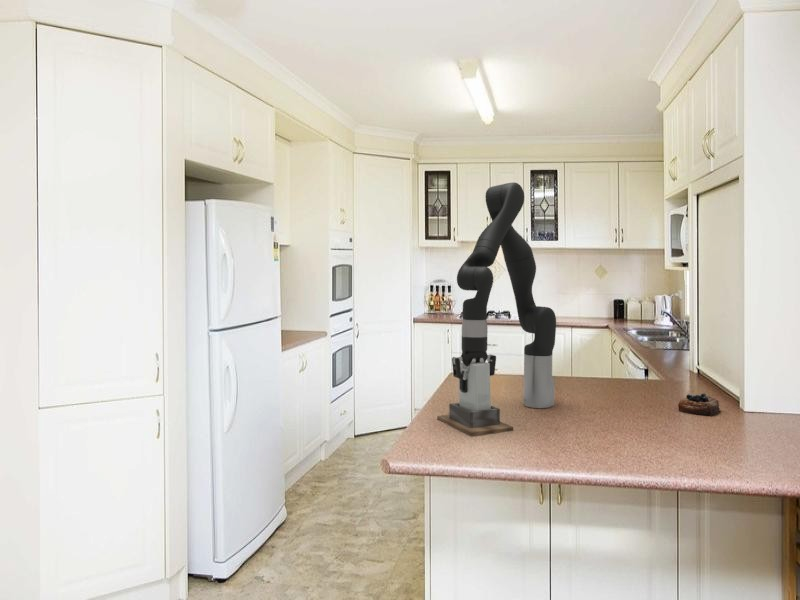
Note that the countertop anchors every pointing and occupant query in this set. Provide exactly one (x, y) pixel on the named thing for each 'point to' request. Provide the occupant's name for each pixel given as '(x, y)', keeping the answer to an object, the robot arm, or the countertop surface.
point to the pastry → (699, 405)
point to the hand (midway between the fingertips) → (473, 391)
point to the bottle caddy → (475, 420)
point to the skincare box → (476, 388)
